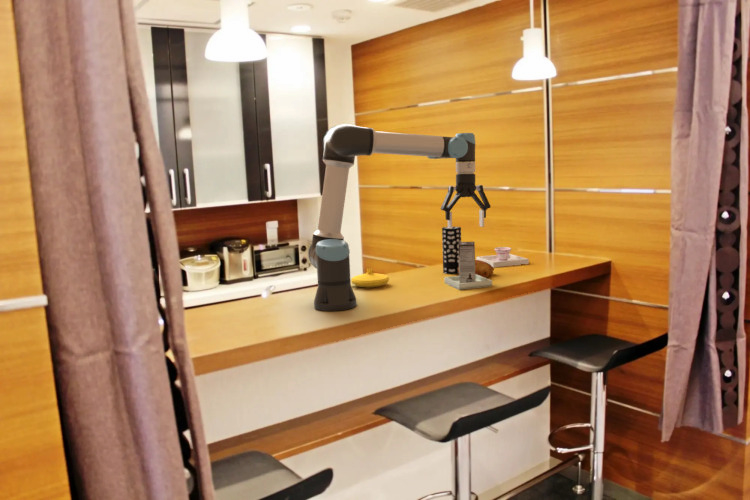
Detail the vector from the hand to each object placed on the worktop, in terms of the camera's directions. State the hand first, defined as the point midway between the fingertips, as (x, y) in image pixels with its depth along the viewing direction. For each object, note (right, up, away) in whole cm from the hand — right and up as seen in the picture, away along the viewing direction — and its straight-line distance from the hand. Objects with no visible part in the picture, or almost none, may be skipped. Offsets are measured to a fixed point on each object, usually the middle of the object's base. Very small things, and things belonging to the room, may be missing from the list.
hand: (465, 227), depth 245 cm
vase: (-38, -24, +10) cm, 46 cm away
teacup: (+25, -14, +50) cm, 58 cm away
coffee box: (+1, -22, +3) cm, 23 cm away
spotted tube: (-1, -19, +31) cm, 36 cm away
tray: (+1, -23, +3) cm, 23 cm away
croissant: (+8, -20, +22) cm, 31 cm away
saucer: (+24, -15, +49) cm, 57 cm away
